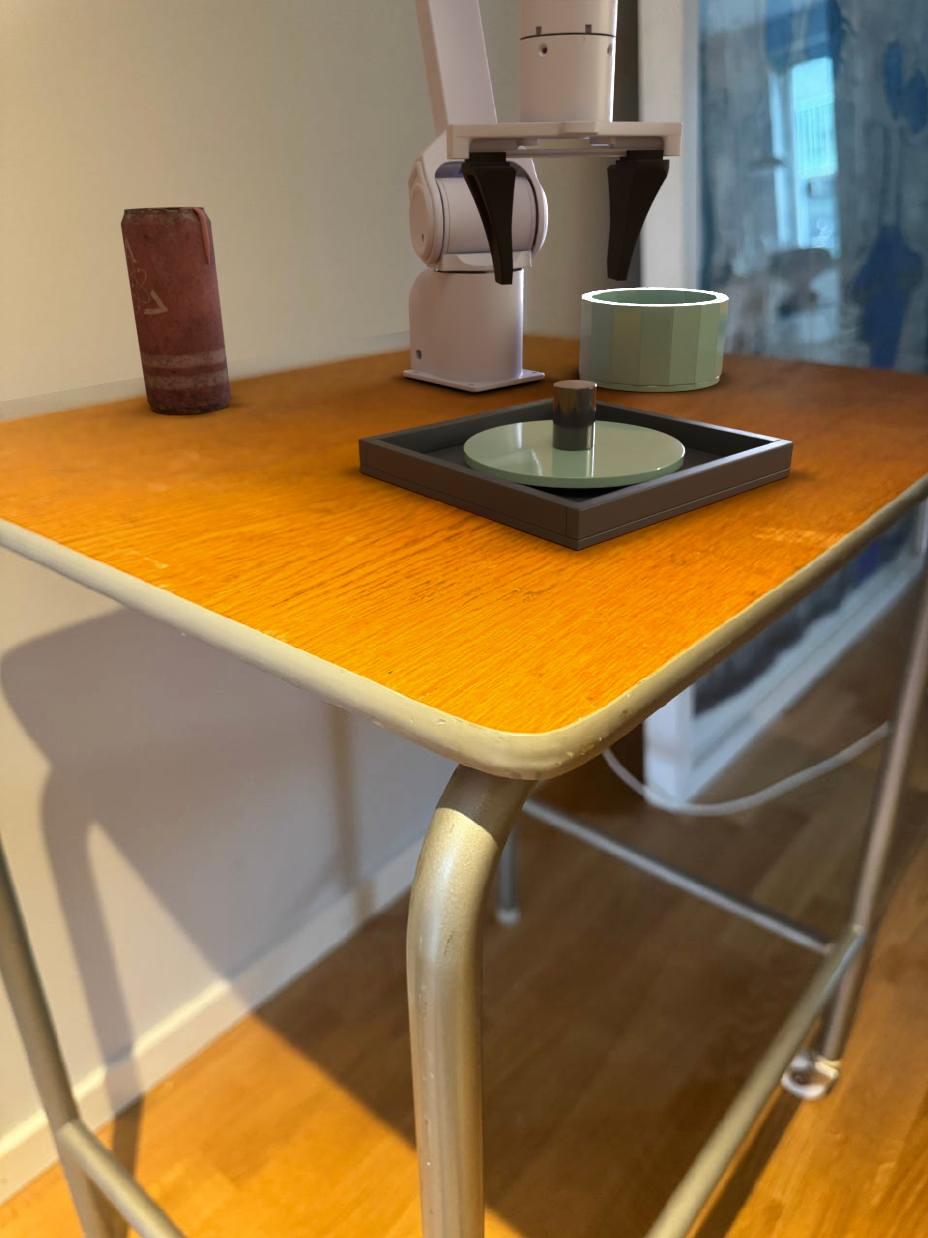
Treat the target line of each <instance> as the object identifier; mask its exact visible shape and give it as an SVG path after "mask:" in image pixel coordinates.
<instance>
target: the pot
mask: <svg viewBox="0 0 928 1238" xmlns="http://www.w3.org/2000/svg"><path fill="white" fill-rule="evenodd" d="M729 302H730V301H729V297H728V296H727V295H726V294H723V293H720V292H719V293H718V292H715V291H707V290H699V289H688V288H667V287H648V288H647V287H635V288H632V287H631V288H613V289H606V290H605V289H604V290H596V291H591V292H587V293H584V294H581V303H580V329H579V331H580V332H579V361H578V378H579V380H583V381H590V382H593V383H595V384H596V385H597V388H603V389H608V390H615V391H624V392H636V393H637V392H638V393H676V392H686V391H687V392H689V391H695V390H701V389H706V388H709V387H712V386H715V385H717V384H718V383H719V382H720V380H721V376H722V372H723V362H724V353H725V341H726V331H727V323H728V322H727V320H728V309H729Z"/></svg>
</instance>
